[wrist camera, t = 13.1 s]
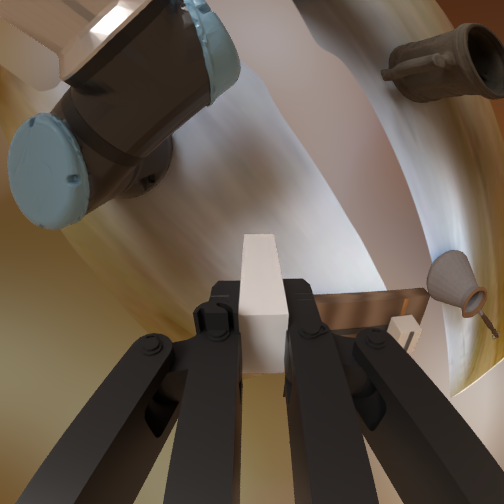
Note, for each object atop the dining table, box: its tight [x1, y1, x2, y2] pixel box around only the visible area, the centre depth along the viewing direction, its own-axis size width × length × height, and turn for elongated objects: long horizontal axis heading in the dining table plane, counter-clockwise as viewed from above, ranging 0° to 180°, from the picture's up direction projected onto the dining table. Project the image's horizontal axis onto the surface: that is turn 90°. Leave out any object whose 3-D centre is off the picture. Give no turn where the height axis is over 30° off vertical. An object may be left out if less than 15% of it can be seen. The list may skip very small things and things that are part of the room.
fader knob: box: [387, 315, 422, 353], centre depth 47 cm, size 5×6×5 cm
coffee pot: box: [427, 250, 499, 340], centre depth 43 cm, size 21×12×15 cm, turn 54°
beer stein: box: [381, 23, 504, 103], centre depth 25 cm, size 15×11×20 cm
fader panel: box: [313, 288, 430, 338], centre depth 52 cm, size 32×14×3 cm, turn 91°
